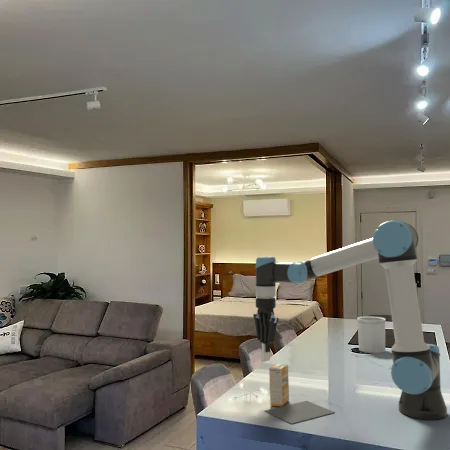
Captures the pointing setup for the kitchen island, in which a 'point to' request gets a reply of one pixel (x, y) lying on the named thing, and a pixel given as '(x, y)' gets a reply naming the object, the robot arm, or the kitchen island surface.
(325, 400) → the kitchen island surface
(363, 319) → the utensil holder
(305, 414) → the mat
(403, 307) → the robot arm
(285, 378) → the supplement box
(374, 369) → the kitchen island surface
